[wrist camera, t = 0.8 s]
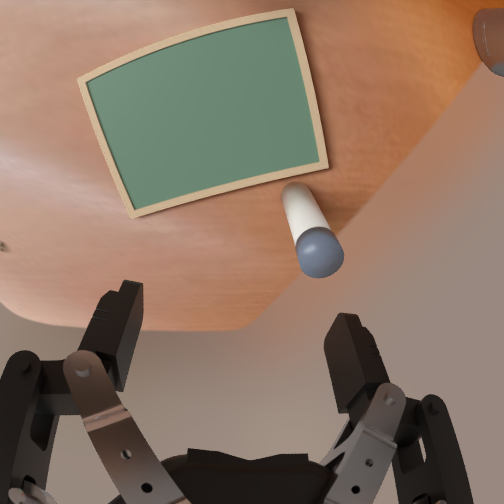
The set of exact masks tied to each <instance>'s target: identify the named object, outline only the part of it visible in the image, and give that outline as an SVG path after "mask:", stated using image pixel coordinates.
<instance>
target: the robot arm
mask: <svg viewBox="0 0 504 504" xmlns="http://www.w3.org/2000/svg"><path fill="white" fill-rule="evenodd" d="M473 34H474V41H475V45H476V48H477V50H478V53H479V55H480V57H481V59H482V61H483V62H484V63H485V65H486V66H487V67H488V68H489V69H490V70H491V71H492V72H493V73H495V74H497V75H499V76H503V77H504V8H492V9H483V10H481V11H480V12H478V13H477V15H476V17H475V20H474V24H473ZM142 320H143V283H140V282H134V281H129V280H124V281H123V283H122V285H121V287H120V290H119V292H116V291H111V290H110V291H108V292H107V293H106V294H105V295H104V296H103V297H101V299H100V301H99V303H98V305H97V307H96V310H95V312H94V314H93V317H92V318H91V320H90V323H89V325H88V327H87V330H86V332H85V334H84V336H83V339H82V341H81V344H80V346H79V348H78V350H77V351H75V352H73V353H71V354H70V355H68V356H67V358H66V359H64V360H58V361H40V359H39V357H38V356H37V355H36V354H35V353H33V352H31V351H27V350H24V351H19V352H16V353H15V354H13V355H12V356H11V357H10V358H9V360H8V362H7V364H6V367H5V369H4V371H3V374H2V376H1V379H0V504H57V503H56V501H55V499H54V498H53V497H52V496H51V495H50V494H49V493H47V492H46V491H45V488H46V482H47V475H48V469H49V463H50V458H51V453H52V448H53V443H54V438H55V434H56V429H57V425H58V421H59V417H60V415H80V416H81V418H82V420H83V423H84V426H85V429H86V431H87V433H88V435H89V437H90V439H91V441H92V443H93V446H94V448H95V449H96V452H97V453H98V455H99V457H100V459H101V461H102V463H103V465H104V467H105V469H106V470H107V472H108V474H109V475H110V477H111V479H112V481H113V483H114V484H115V486H116V488H117V489H118V491H119V493H120V495H118V496H117V497H116V498H115V499H113V500H112V501H111V502H110V503H108V504H372V503H373V501H374V499H375V497H376V495H377V493H378V491H379V488H380V486H381V484H382V482H383V480H384V477H385V475H386V473H387V471H388V468H389V466H390V463H391V461H392V466H393V471H394V477H395V483H396V489H397V495H398V501H399V504H474V503H473V498H472V494H471V489H470V485H469V481H468V477H467V473H466V469H465V465H464V462H463V458H462V454H461V451H460V448H459V444H458V441H457V438H456V434H455V432H454V428H453V425H452V422H451V419H450V416H449V413H448V410H447V407H446V405H445V403H444V402H443V400H442V399H441V398H440V397H438V396H436V395H431V394H429V395H427V396H425V397H424V398H423V399H422V400H421V401H420V400H415V399H412V398H408V397H405V394H404V392H403V391H402V390H401V389H400V388H399V387H398V386H396V385H394V384H392V383H390V380H389V377H388V374H387V372H386V369H385V366H384V364H383V361H382V358H381V356H380V355H379V354H380V353H379V350H378V348H377V345H376V343H375V340H374V337H373V335H372V334H371V333H370V332H369V331H368V329H367V328H366V327H362V325H361V322H360V319H359V317H358V315H356V314H348V313H339V314H338V315H337V317H336V319H335V321H334V323H333V324H332V326H331V328H330V330H329V332H328V333H327V335H326V337H325V341H324V352H325V356H326V360H327V364H328V368H329V373H330V377H331V381H332V386H333V390H334V395H335V399H336V403H337V408H338V413H339V414H340V413H349V419H348V420H347V421H346V423H345V425H344V426H343V428H342V430H341V432H340V434H339V435H338V437H337V439H336V441H335V442H334V444H333V446H332V448H331V449H330V451H329V452H328V454H327V455H326V456H325V457H324V458H323V459H322V461H321V462H320V463H319V464H318V463H316V462H313V461H309V460H308V454H278V455H274V456H270V457H265V458H261V459H256V460H246V459H242V458H239V457H235V456H232V455H229V454H225V453H222V452H219V451H209V450H199V449H190V448H188V451H187V454H185V455H178V456H173V457H170V458H167V459H165V460H163V461H161V462H160V461H159V460H158V458H157V457H156V455H155V453H154V452H153V450H152V449H151V447H150V446H149V444H148V443H147V441H146V439H145V438H144V436H143V434H142V433H141V431H140V429H139V428H138V426H137V424H136V423H135V421H134V419H133V417H132V416H131V414H130V413H129V411H128V410H127V409H125V407H124V406H123V404H122V402H121V400H120V399H119V397H118V395H117V393H116V391H119V392H123V391H124V387H125V383H126V379H127V375H128V371H129V368H130V364H131V360H132V356H133V353H134V349H135V346H136V342H137V339H138V335H139V332H140V329H141V325H142ZM421 437H422V440H423V444H424V448H425V452H426V460H425V462H424V460H423V456H422V453H421V448H420V444H419V439H420V438H421Z"/></svg>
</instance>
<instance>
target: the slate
mask: <svg viewBox="0 0 504 504" xmlns="http://www.w3.org/2000/svg"><path fill="white" fill-rule="evenodd" d="M77 82H78V85H79V88H80V91H81V94H82V97H83V100H84V103H85V106H86V109H87V112H88V114H89V117H90V120H91V123H92V126H93V128H94V131H95V134H96V136H97V139H98V142H99V144H100V147H101V149H102V152H103V155H104V157H105V160H106V162H107V165H108V167H109V170H110V172H111V174H112V177H113V179H114V182H115V184H116V186H117V189H118V191H119V193H120V196H121V198H122V200H123V202H124V205H125V207H126V209H127V211H128V214H129V216H130V218H131V219H133V218H136V217H139V216H142V215H146V214H149V213H152V212H156V211H159V210H162V209H166V208H169V207H173V206H176V205H180V204H183V203H187V202H190V201H194V200H197V199H201V198H205V197H208V196H212V195H216V194H220V193H224V192H227V191H231V190H235V189H239V188H243V187H247V186H251V185H255V184H259V183H264V182H268V181H272V180H276V179H281V178H285V177H289V176H294V175H298V174H303V173H307V172H312V171H317V170H322V169H326V168H329V166H328V160H327V154H326V148H325V142H324V137H323V131H322V126H321V120H320V115H319V110H318V105H317V101H316V96H315V91H314V86H313V82H312V78H311V73H310V69H309V65H308V60H307V56H306V52H305V48H304V44H303V40H302V37H301V33H300V29H299V25H298V22H297V18H296V15H295V11H294V8H290V9H283V10H276V11H270V12H265V13H259V14H254V15H249V16H245V17H240V18H236V19H231V20H227V21H223V22H219V23H216V24H212V25H208V26H205V27H201V28H198V29H195V30H191V31H188V32H185V33H182V34H179V35H176V36H173V37H170V38H167V39H164V40H162V41H159V42H156V43H154V44H151V45H148V46H146V47H143V48H141V49H139V50H136V51H134V52H131V53H129V54H127V55H124V56H122V57H120V58H118V59H116V60H113V61H111V62H109V63H107V64H105V65H103V66H101V67H99V68H97V69H95V70H93V71H91V72H89V73H87V74H85V75H83V76H81V77H80V78H78V79H77Z"/></svg>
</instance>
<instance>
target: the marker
mask: <svg viewBox="0 0 504 504" xmlns="http://www.w3.org/2000/svg"><path fill="white" fill-rule="evenodd" d="M281 200H282V203H283V206H284V209H285V213H286V216H287V219H288V222H289V225H290V229H291V232H292V235H293V239H294V242H295V245H296V246H295V249H296V253H297V257H298V260H299V264H300V267H301V269H302V271H303V272H304V273H305V274H306V275H308V276H310V277H313V278H324V277H327V276H330V275H332V274H333V273H335V272H336V271H337V270H338V269H339V268H340V267H341V265H342V263H343V260H344V252H343V249H342V247H341V245H340V244H339V242H338V240H337V238H336V236H335V234H334V233H333V232H332V231H331V229H330V227H329V225H328V223H327V221H326V219H325V217H324V215H323V214H322V212H321V210H320V208H319V206H318V204H317V202H316V201H315V199H314V197H313V195H312V193H311V191H310V190H309V188H308V187H307V186H306V185H305V184H304V183H301V182H292V183H289V184H288V185H286V186H285V187H284V189H283V190H282V193H281Z"/></svg>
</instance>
